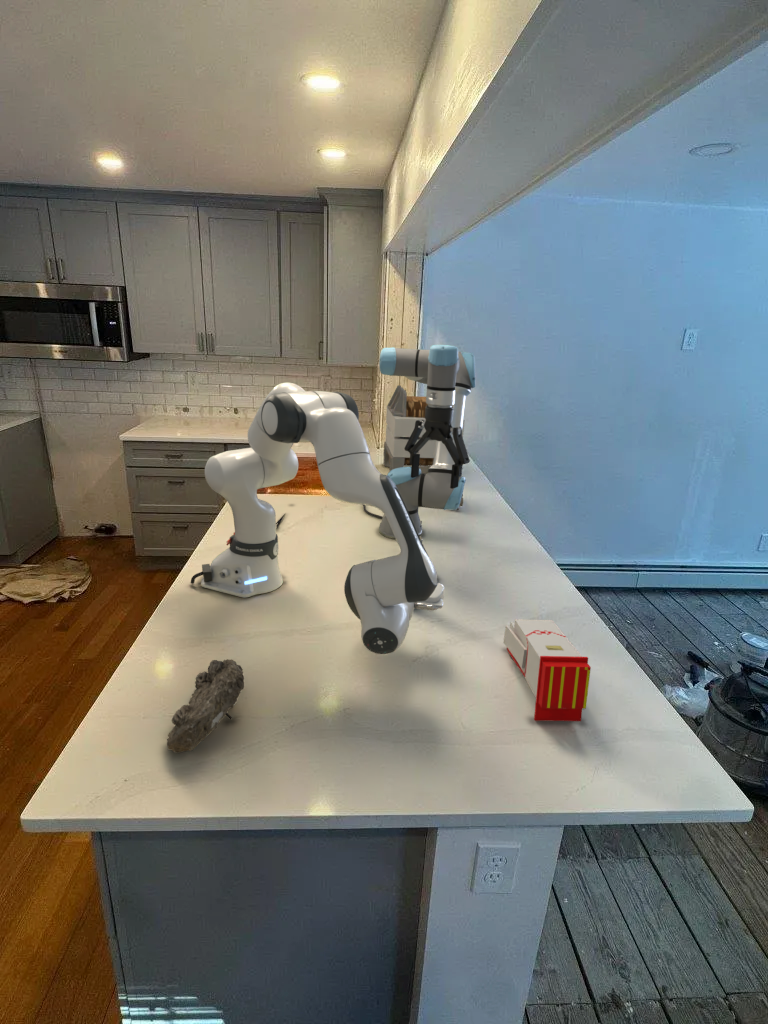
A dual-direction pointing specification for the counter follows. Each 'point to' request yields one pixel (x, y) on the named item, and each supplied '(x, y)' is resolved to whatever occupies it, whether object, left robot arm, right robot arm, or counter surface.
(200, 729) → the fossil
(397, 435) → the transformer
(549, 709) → the toy
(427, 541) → the counter surface
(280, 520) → the feather
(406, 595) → the left robot arm
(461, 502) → the figurine character
